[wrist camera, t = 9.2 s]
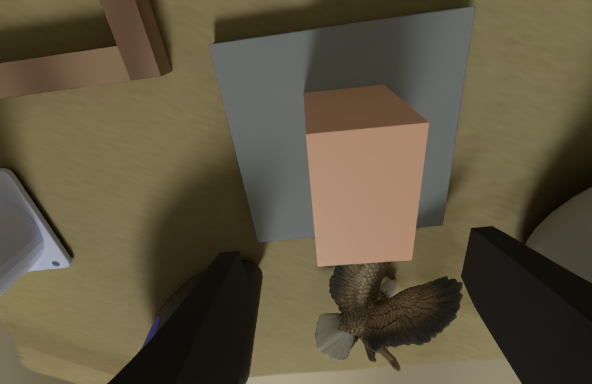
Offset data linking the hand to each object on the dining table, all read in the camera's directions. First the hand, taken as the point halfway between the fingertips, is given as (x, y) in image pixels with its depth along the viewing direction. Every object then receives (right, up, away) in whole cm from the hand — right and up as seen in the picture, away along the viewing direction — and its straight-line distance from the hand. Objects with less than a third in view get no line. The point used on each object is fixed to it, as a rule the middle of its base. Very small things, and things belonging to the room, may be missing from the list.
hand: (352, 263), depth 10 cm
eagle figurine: (+4, -4, +13) cm, 14 cm away
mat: (+1, +5, +8) cm, 9 cm away
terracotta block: (+1, +5, +7) cm, 8 cm away
